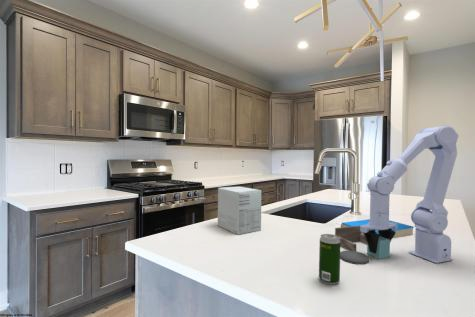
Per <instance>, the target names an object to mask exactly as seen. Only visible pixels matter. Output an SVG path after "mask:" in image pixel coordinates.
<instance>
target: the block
mask: <svg viewBox="0 0 475 317" xmlns="http://www.w3.org/2000/svg"><path fill="white" fill-rule="evenodd" d="M390 246H391V242H390V239H387V238H384V237H381V236H380V237H379V239H378V243H377V251H376V253H372V252H370V250H369V246H368V243H367V244H366V255H368V256H371V257H374V258H376V259H379V260H381V259H388V258H390V250H391V248H390Z"/></svg>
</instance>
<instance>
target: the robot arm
mask: <svg viewBox="0 0 475 317" xmlns="http://www.w3.org/2000/svg"><path fill="white" fill-rule="evenodd" d="M458 139H459V134H458V132H457V131H456V130H455V129H454V127H453V126H450V125H441V126H436V127H435V126H434V127H424V128H422V129H421V130H419V132H418V133H416V134H415V136H414V139H413V140H412V141H411V142H410V144H409V145H408V146H407V147H406V149H404V150H403V151H402V153H401V154H400V155H399V157H398V158H393V159H390V160H387V162H386V165H385V166H384V167H383V168H382V169H381V170H380V171H378V172H377V173H376V175H374V176H372V177H370V179H369V180H368V183H366V186H367V189H368V190H369V192H370V194H369V195H370V199H369V200H370V202H369V204H370V205H369V219H370V222H368V224H365V225H361V226H360V231H361V232H363V234H364V235H365V237H366V240H367V243H368V246H369V250H370V252H372V253H376V251H377V243H378V239H379V237H380V236H381V237H384V238H387V239H390V243H391V242H392V240H393V239H394V238H393V237H394V235H395V231H392V229H397V223H398V222H397V223H393V222H390V223H389V220H390V193H392V192H393V191H394V190H395V185H396V182H398V181H399V179H401V178H402V176H403V175H404V174H406V172H407V171H408V165H409V164H410V163H411V162H412V161H413V160H414V159H416V157H418V156H419V155H420V154H421V153H422V152H424V150H425V149H427V150H429V151H431V153H432V154H433V155H434V161H433V164H432V168H431V172H430V174H429V178H428V182H427V185H426V189H425V192H424V196H423V199H422V200H420V201H419V202H418V203H416V206H415V208H414V209H413V210H412V212H411V214H410V219H411V222H412V223H413V224H414V228H415V236H414V238H415V239H414V240H415V241H414V250H410V251H408V254H411V255H413V256H416V257H419V258H422V259H425V260H426V261H429V262H432V263H434V264H439V263H445V262H450V261H453V258H452V239H451V237H450V236H449V235H447V234H444V231H445V230H446V229H447V227H448V225H449V223H448V222H449V221H448V214H449V211H448V210H447V209H446V207H445V206H444V201H445V198H446V194H447V192H448V187H449V184H450V181H451V177H452V174H453V170H454V167H455V164H456V159H457V155H458V150H457V143H458ZM375 231H378V232H379V234H377V233H376V232H375Z"/></svg>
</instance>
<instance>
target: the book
mask: <svg viewBox="0 0 475 317" xmlns="http://www.w3.org/2000/svg"><path fill="white" fill-rule="evenodd" d="M368 222H370V218H369V219H361V220H353V221H345V222H341V225H340V227H350V226H361V225H365V224H368ZM390 222H393V223H397V229H392V231H395V235H394V237H393V238H392V239H394V238H399V237H400V238H401V237H405V236H411V235H414V228H415V226H412V225H409V224H405V223H401V222H396V221H393V220H390V219H389V223H390ZM375 232H376V233H377V234H379V232H378V231H375ZM362 234H363V232H362Z"/></svg>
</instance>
